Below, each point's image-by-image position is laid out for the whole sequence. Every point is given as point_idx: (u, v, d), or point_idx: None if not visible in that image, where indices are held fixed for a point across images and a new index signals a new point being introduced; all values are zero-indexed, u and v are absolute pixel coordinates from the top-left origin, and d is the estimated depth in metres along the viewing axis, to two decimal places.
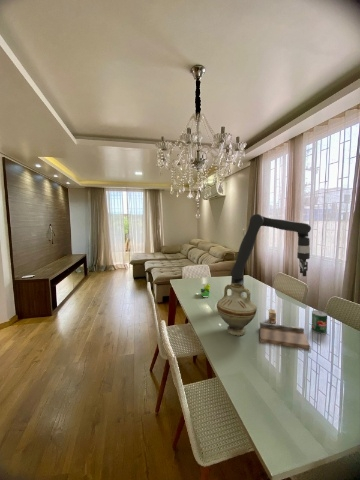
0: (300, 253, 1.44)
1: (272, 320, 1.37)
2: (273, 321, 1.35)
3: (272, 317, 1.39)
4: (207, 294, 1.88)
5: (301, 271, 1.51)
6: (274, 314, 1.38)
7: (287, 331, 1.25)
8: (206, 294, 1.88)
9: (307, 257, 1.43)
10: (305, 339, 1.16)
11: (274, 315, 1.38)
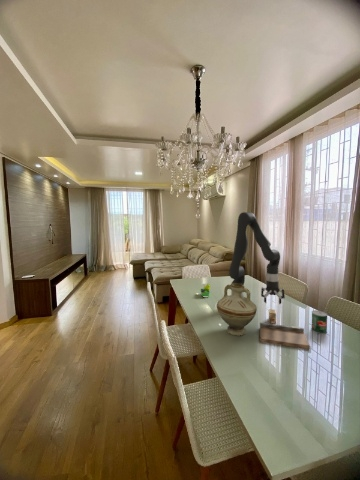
0: (277, 282, 1.36)
1: (272, 320, 1.37)
2: (273, 321, 1.35)
3: (272, 317, 1.39)
4: (207, 294, 1.88)
5: None
6: (274, 314, 1.38)
7: (287, 331, 1.25)
8: (206, 294, 1.88)
9: None
10: (305, 339, 1.16)
11: (274, 315, 1.38)
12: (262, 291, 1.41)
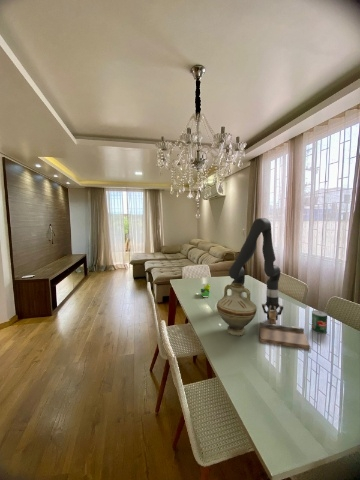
0: (277, 297, 1.37)
1: (272, 320, 1.37)
2: (273, 321, 1.35)
3: (272, 317, 1.39)
4: (207, 294, 1.88)
5: None
6: (274, 314, 1.38)
7: (287, 331, 1.25)
8: (206, 294, 1.88)
9: None
10: (305, 339, 1.16)
11: (274, 315, 1.38)
12: (263, 308, 1.42)
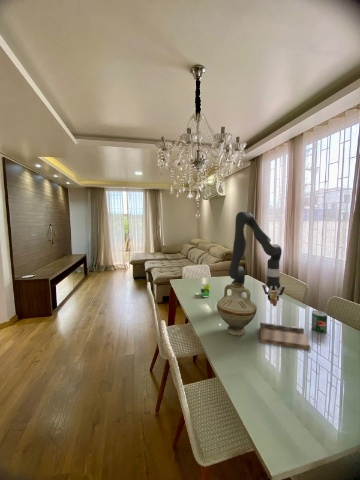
0: (278, 277, 1.33)
1: (273, 300, 1.33)
2: (274, 301, 1.31)
3: (273, 297, 1.35)
4: (207, 294, 1.88)
5: None
6: (275, 294, 1.34)
7: (287, 331, 1.25)
8: (206, 294, 1.88)
9: None
10: (305, 339, 1.16)
11: (275, 295, 1.34)
12: (264, 288, 1.38)
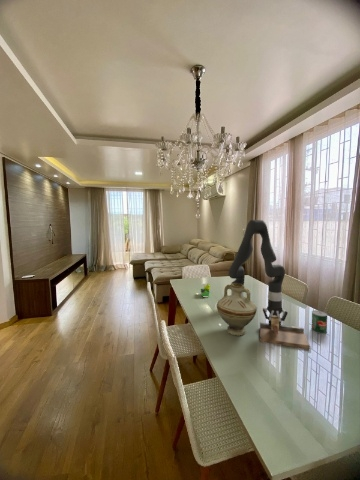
0: (280, 301, 1.20)
1: (274, 327, 1.20)
2: (276, 328, 1.18)
3: (275, 323, 1.22)
4: (207, 294, 1.88)
5: None
6: (277, 320, 1.21)
7: (287, 331, 1.25)
8: (206, 294, 1.88)
9: None
10: (305, 339, 1.16)
11: (277, 321, 1.21)
12: (264, 313, 1.25)
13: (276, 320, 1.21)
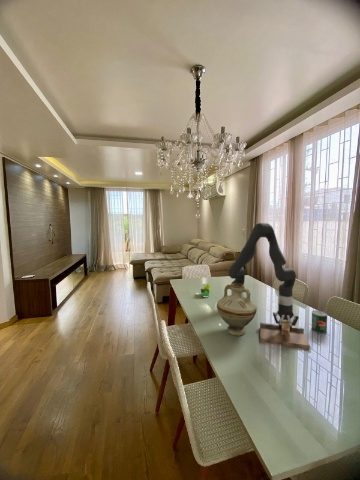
0: (291, 305, 1.18)
1: (285, 332, 1.18)
2: (287, 333, 1.16)
3: (285, 328, 1.20)
4: (207, 294, 1.88)
5: (281, 328, 1.23)
6: (288, 325, 1.19)
7: None
8: (206, 294, 1.88)
9: None
10: (305, 339, 1.16)
11: (288, 326, 1.19)
12: (275, 317, 1.23)
13: (287, 325, 1.20)
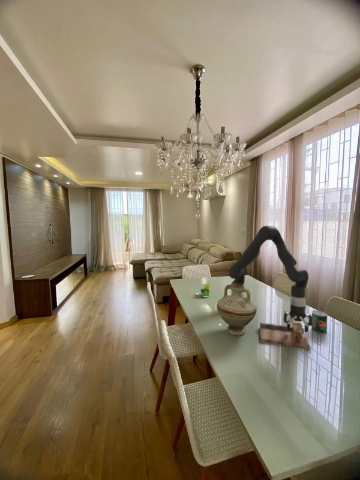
0: (304, 306, 1.17)
1: (298, 333, 1.16)
2: (300, 335, 1.15)
3: (298, 330, 1.18)
4: (207, 294, 1.88)
5: (289, 327, 1.22)
6: (300, 326, 1.18)
7: (287, 331, 1.25)
8: (206, 294, 1.88)
9: None
10: (305, 339, 1.16)
11: (300, 328, 1.18)
12: (285, 316, 1.21)
13: (299, 326, 1.18)
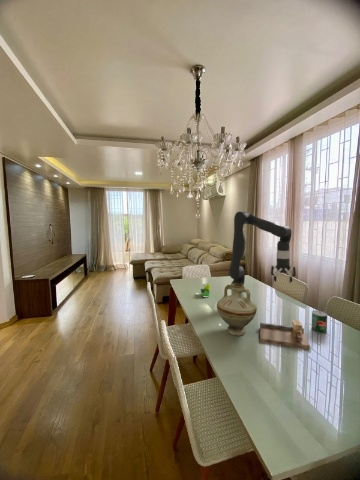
0: (288, 259, 1.31)
1: (298, 333, 1.16)
2: (300, 335, 1.15)
3: (298, 330, 1.18)
4: (207, 294, 1.88)
5: None
6: (300, 326, 1.18)
7: (287, 331, 1.25)
8: (206, 294, 1.88)
9: None
10: (305, 339, 1.16)
11: (300, 328, 1.18)
12: (272, 269, 1.36)
13: (299, 326, 1.18)
